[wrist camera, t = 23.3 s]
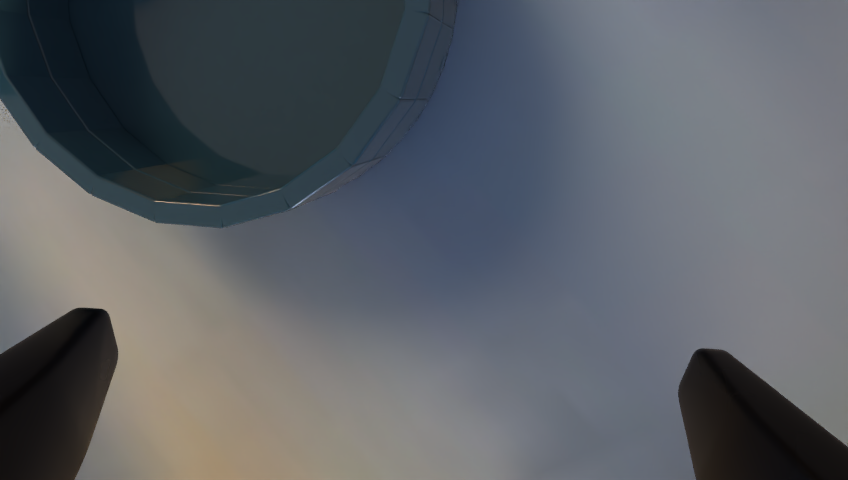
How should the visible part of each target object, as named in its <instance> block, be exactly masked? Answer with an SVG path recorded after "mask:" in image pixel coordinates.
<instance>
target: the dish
mask: <svg viewBox="0 0 848 480" xmlns="http://www.w3.org/2000/svg"><path fill="white" fill-rule="evenodd" d="M456 10H457V0H0V99H1V101H2V102H3V103H4V105H5V106H6V108H7V109H8V111H9V112H10V113H11V115H12V116H13V118H14V119H15V121H16V122H17V124H18V125H19V126H20V128H21V129H22V131H23V132H24V134H25V135H26V136H27V138H28V139H29V141H30V142H31V144H32V145H33V146H34V147H36V149H37V150H38V151H39V152H40V153H41V154H42V155H44V156H45V157H46V158H47V159H48V160H50V161H51V162H52V163H53V164H54V165H56V166H57V167H58V168H59V169H60V170H61V171H63V172H64V173H65V174H66V175H67V176H69V177H70V178H71V179H72V180H73V181H75V182H76V183H77V184H78V185H79V186H81V187H82V188H83V189H84V190H85V191H87V192H88V193H89V194H92V195H93V196H95V197H97V198H99V199H102V200H104V201H106V202H109V203H111V204H113V205H116V206H118V207H120V208H123V209H125V210H127V211H130V212H132V213H134V214H137V215H139V216H141V217H144V218H146V219H148V220H151V221H155V222H156V223H164V224H177V225H189V226H201V227H213V228H224V227H230V226H234V225H237V224H241V223H245V222H249V221H252V220H256V219H260V218H263V217H267V216H271V215H274V214H278V213H282V212H286V211H289V210H292V209H294V208H297V207H299V206H302V205H304V204H306V203H309V202H311V201H314V200H316V199H319V198H321V197H324V196H326V195H329V194H331V193H333V192H336V191H337V190H338V189H340V188H341V187H343V186H344V185H346V184H347V183H349V182H350V181H352V180H354V179H356V178H357V177H359V176H361V175H362V174H364V173H365V172H366V171H368V170H369V169H370V168H372V167H373V166H374V165H375V164H377V163H378V162H379V161H381V160H382V159H383V158H385V157H386V155H388V154H389V152H390V151H391V150H392V149H393V148H394V147H395V146H396V145H397V144H398V143H399V142H400V141H401V140H402V139H403V137H404V136H405V135H406V134H407V132H408V131H409V130H410V128H411V127H412V126H413V124H414V123H415V122H416V120H417V119H418V118H419V116H420V114H421V113H422V111H423V109H424V107H425V106H426V104H427V102H428V100H429V99H430V97H431V95H432V93H433V91H434V89H435V86H436V84H437V82H438V79H439V77H440V75H441V72H442V70H443V67H444V65H445V61H446V57H447V54H448V50H449V47H450V43H451V40H452V36H453V29H454V23H455V16H456Z"/></svg>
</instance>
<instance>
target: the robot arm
mask: <svg viewBox="0 0 848 480" xmlns="http://www.w3.org/2000/svg"><path fill="white" fill-rule="evenodd" d="M117 360H118V348H117V344H116V340H115V336H114V332H113V328H112V324H111V320H110V317H109V314H108V313H107V311H105V310H103V309H95V308H76V309H74V310H72V311H70V312H68V313H67V314H65V315H63V316H62V317H60V318H59V319H57V320H55V321H54V322H52V323H50V324H49V325H47V326H46V327H44V328H42V329H41V330H39V331H37V332H36V333H34V334H33V335H31V336H29V337H28V338H26V339H24V340H23V341H21V342H20V343H18V344H16V345H15V346H13V347H11V348H10V349H8V350H7V351H5V352H3V353H2V354H0V480H74V479H75V477H76V475H77V473H78V471H79V469H80V466H81V464H82V462H83V460H84V457H85V455H86V452H87V449H88V447H89V444H90V441H91V438H92V435H93V432H94V430H95V427H96V424H97V421H98V418H99V415H100V412H101V409H102V406H103V403H104V400H105V397H106V394H107V391H108V388H109V385H110V382H111V379H112V376H113V374H114V371H115V368H116V364H117ZM678 397H679V403H680V408H681V412H682V417H683V422H684V426H685V431H686V435H687V440H688V445H689V449H690V454H691V458H692V463H693V468H694V472H695V477H696V480H848V447H847V446H846V445H845V444H843V443H842V442H841V441H840V440H838V439H837V438H836V437H834V436H833V435H832V434H831V433H829V432H828V431H827V430H826V429H824V428H823V427H822V426H821V425H819V424H818V423H817V422H815V421H814V420H813V419H812V418H810V417H809V416H808V415H807V414H805V413H804V412H803V411H802V410H800V409H799V408H798V407H796V406H795V405H794V404H793V403H791V402H790V401H789V400H788V399H786V398H785V397H784V396H783V395H781V394H780V393H779V392H777V391H776V390H775V389H774V388H772V387H771V386H770V385H769V384H767V383H766V382H765V381H764V380H762V379H761V378H760V377H758V376H757V375H756V374H755V373H753V372H752V371H751V370H750V369H748V368H747V367H746V366H745V365H743V364H742V363H741V362H739V361H738V360H737V359H736V358H734V357H733V356H732V355H731V354H729V353H728V352H726V351H724V350H719V349H704V348H702V349H698V350H697V351H695V352H694V354H693V356H692V358H691V360H690V362H689V364H688V367H687V369H686V371H685V373H684V375H683V378H682V380H681V382H680V385H679V390H678Z"/></svg>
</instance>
